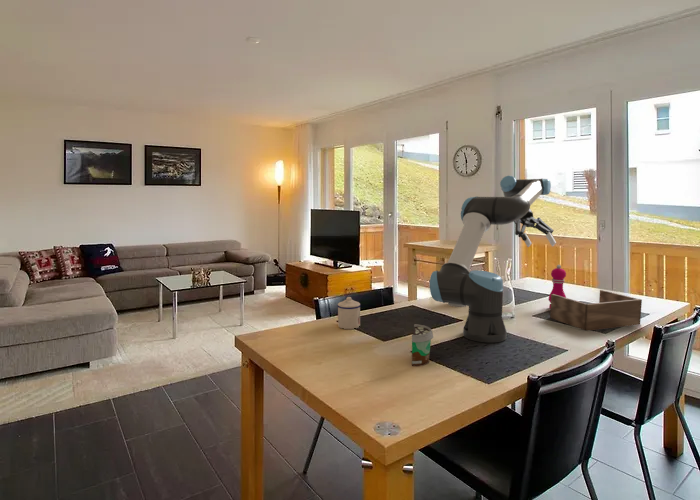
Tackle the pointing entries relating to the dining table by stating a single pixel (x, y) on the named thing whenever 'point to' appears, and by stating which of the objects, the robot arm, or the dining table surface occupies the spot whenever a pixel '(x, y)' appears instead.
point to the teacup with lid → (349, 314)
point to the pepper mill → (557, 282)
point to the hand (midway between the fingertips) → (542, 244)
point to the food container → (421, 345)
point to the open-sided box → (597, 311)
